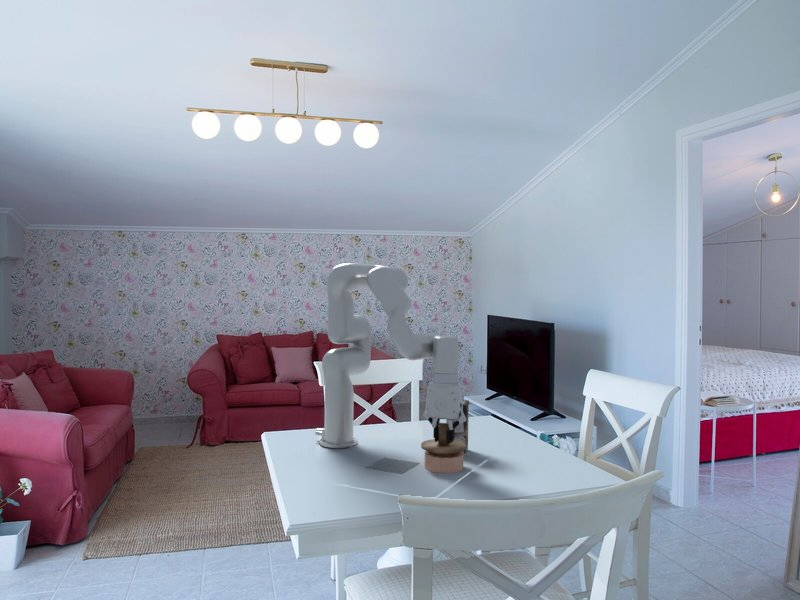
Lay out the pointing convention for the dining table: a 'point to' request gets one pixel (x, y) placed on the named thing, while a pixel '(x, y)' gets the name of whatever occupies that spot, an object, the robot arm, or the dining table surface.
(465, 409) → the coffee box
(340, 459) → the dining table surface
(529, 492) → the dining table surface
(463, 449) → the lid
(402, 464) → the mat
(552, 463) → the dining table surface
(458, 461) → the bowl
